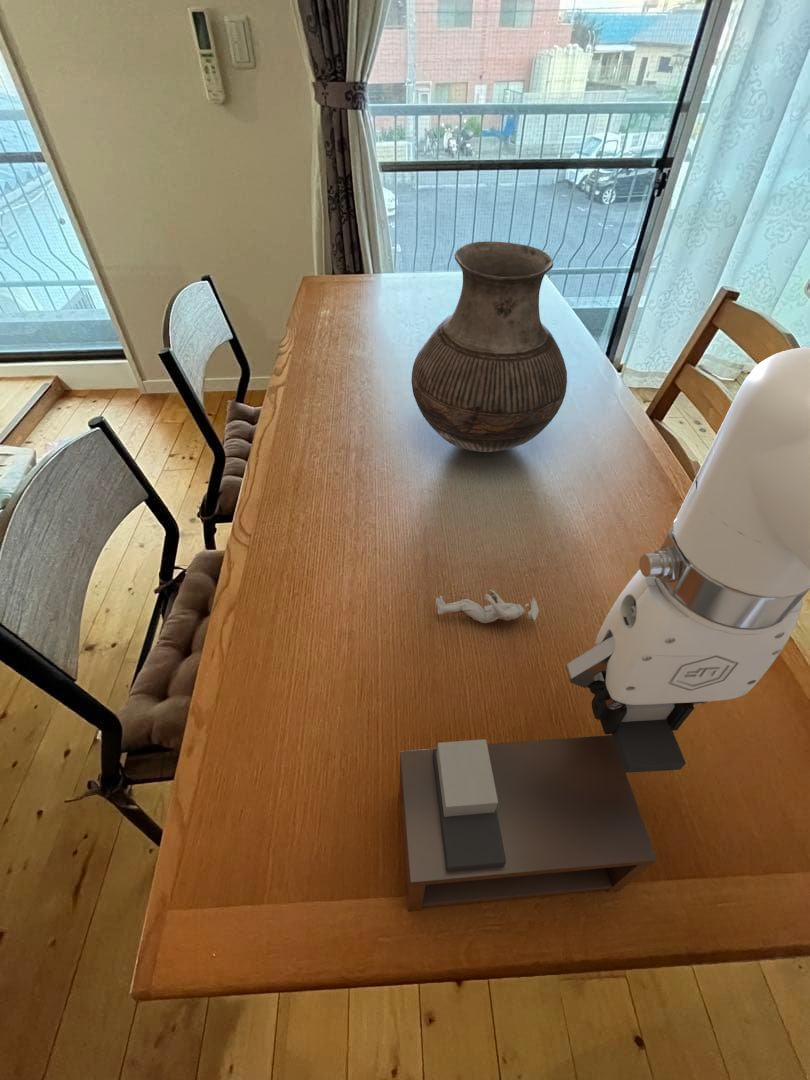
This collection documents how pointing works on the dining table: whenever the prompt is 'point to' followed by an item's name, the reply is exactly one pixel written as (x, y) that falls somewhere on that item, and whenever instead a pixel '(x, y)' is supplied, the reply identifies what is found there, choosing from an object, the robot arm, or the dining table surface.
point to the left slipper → (468, 806)
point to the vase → (492, 354)
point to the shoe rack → (531, 824)
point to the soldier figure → (488, 609)
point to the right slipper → (647, 739)
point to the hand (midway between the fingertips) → (634, 714)
